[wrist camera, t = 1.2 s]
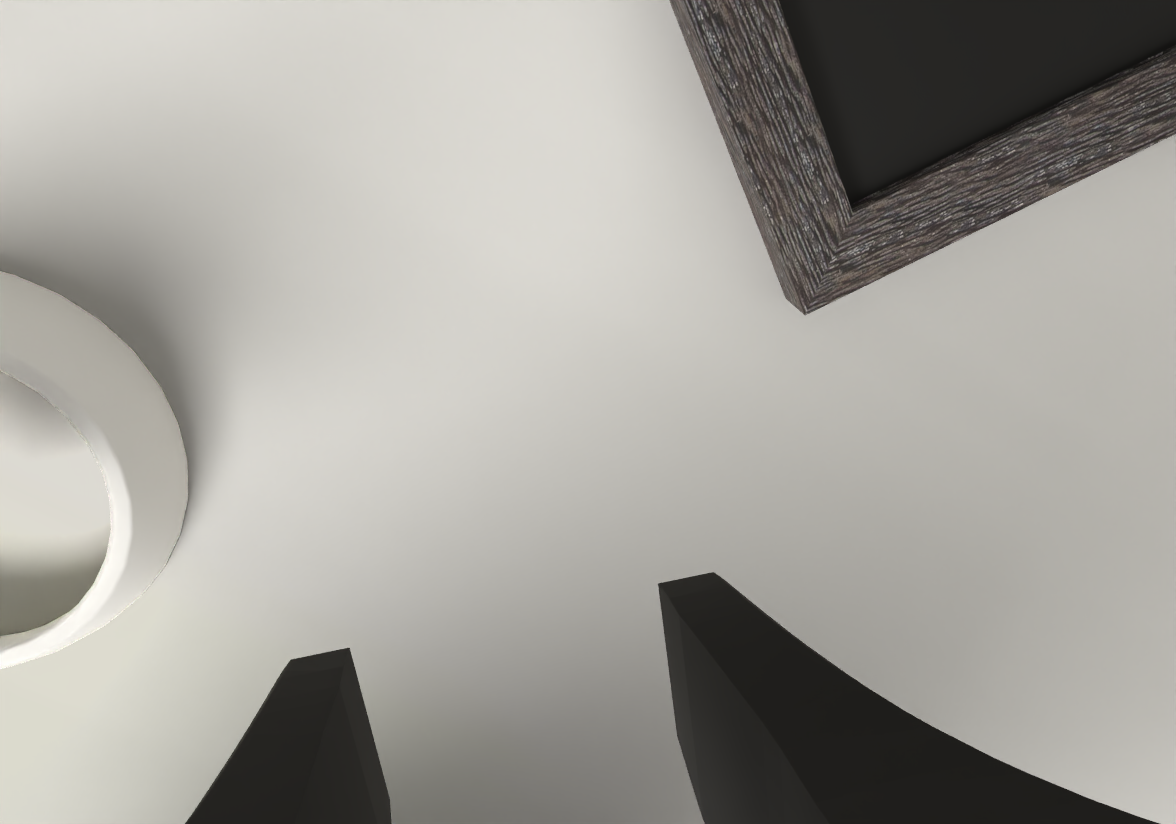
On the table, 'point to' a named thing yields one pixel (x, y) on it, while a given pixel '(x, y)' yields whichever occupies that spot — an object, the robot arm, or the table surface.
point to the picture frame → (920, 117)
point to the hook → (98, 449)
